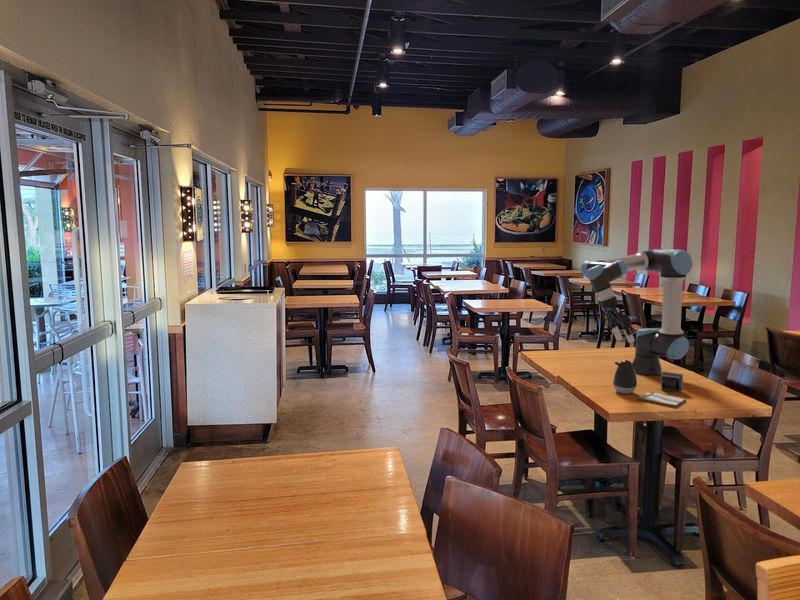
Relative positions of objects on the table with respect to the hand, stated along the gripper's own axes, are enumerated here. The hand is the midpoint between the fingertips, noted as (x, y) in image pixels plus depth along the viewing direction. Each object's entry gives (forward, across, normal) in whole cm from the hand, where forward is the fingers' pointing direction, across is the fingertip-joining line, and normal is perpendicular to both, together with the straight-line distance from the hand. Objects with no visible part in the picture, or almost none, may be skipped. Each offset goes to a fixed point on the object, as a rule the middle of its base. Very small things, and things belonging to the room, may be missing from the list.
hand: (626, 341), depth 274 cm
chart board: (+28, +9, +1) cm, 30 cm away
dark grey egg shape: (+22, -4, -9) cm, 24 cm away
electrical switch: (+31, -6, +12) cm, 34 cm away
